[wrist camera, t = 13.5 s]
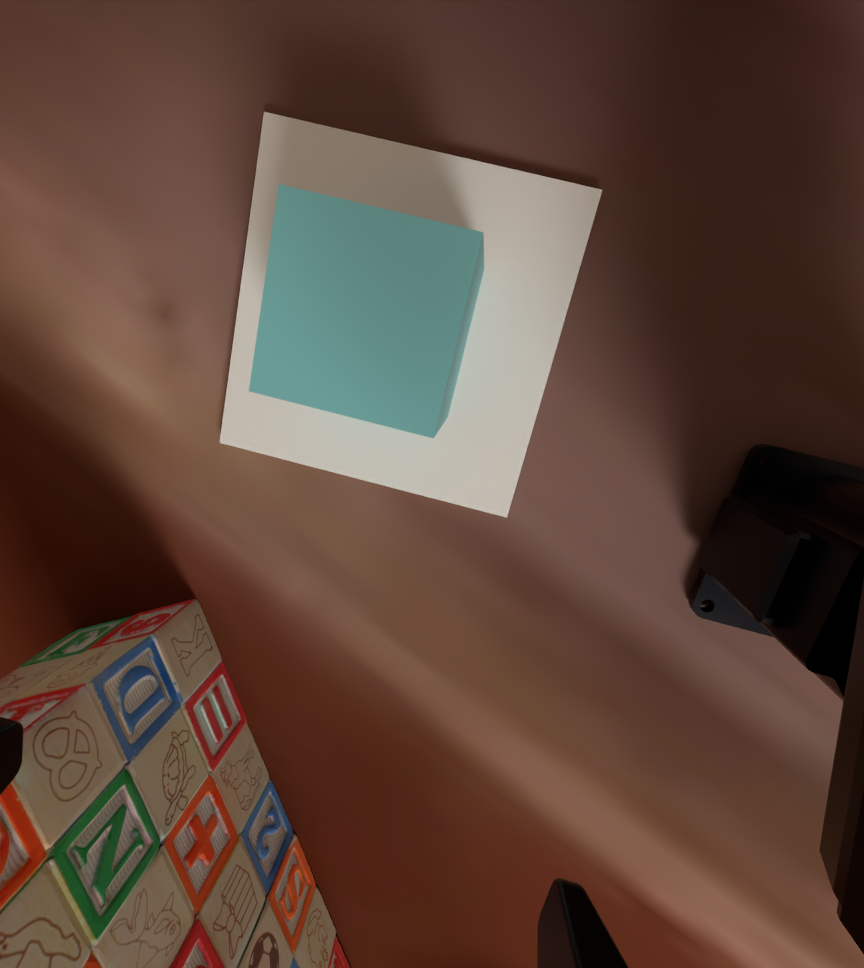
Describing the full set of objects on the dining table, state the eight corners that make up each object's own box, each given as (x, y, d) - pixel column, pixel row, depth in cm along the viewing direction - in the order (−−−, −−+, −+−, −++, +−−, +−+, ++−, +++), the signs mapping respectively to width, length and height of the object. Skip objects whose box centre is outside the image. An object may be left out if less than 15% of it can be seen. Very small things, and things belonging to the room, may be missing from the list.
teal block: (484, 268, 17) (483, 232, 12) (447, 417, 18) (433, 438, 13) (337, 233, 17) (278, 183, 12) (311, 382, 18) (248, 391, 14)
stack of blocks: (361, 977, 26) (253, 1512, 14) (249, 990, 27) (58, 1498, 15) (197, 593, 21) (-164, 884, 10) (71, 626, 23) (-394, 925, 11)
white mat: (599, 194, 16) (602, 189, 16) (506, 514, 19) (506, 517, 19) (269, 117, 17) (264, 111, 16) (224, 440, 20) (219, 442, 19)
